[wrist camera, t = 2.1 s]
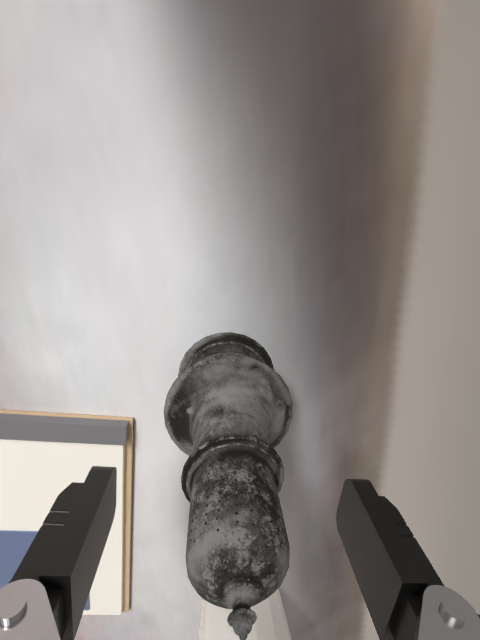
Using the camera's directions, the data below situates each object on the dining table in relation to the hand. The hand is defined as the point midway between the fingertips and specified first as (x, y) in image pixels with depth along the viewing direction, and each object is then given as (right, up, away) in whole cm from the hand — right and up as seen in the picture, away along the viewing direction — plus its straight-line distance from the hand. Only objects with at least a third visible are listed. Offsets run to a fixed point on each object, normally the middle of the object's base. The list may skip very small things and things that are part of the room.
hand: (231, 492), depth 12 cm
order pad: (-13, -7, +9) cm, 17 cm away
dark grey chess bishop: (0, +3, +7) cm, 8 cm away
